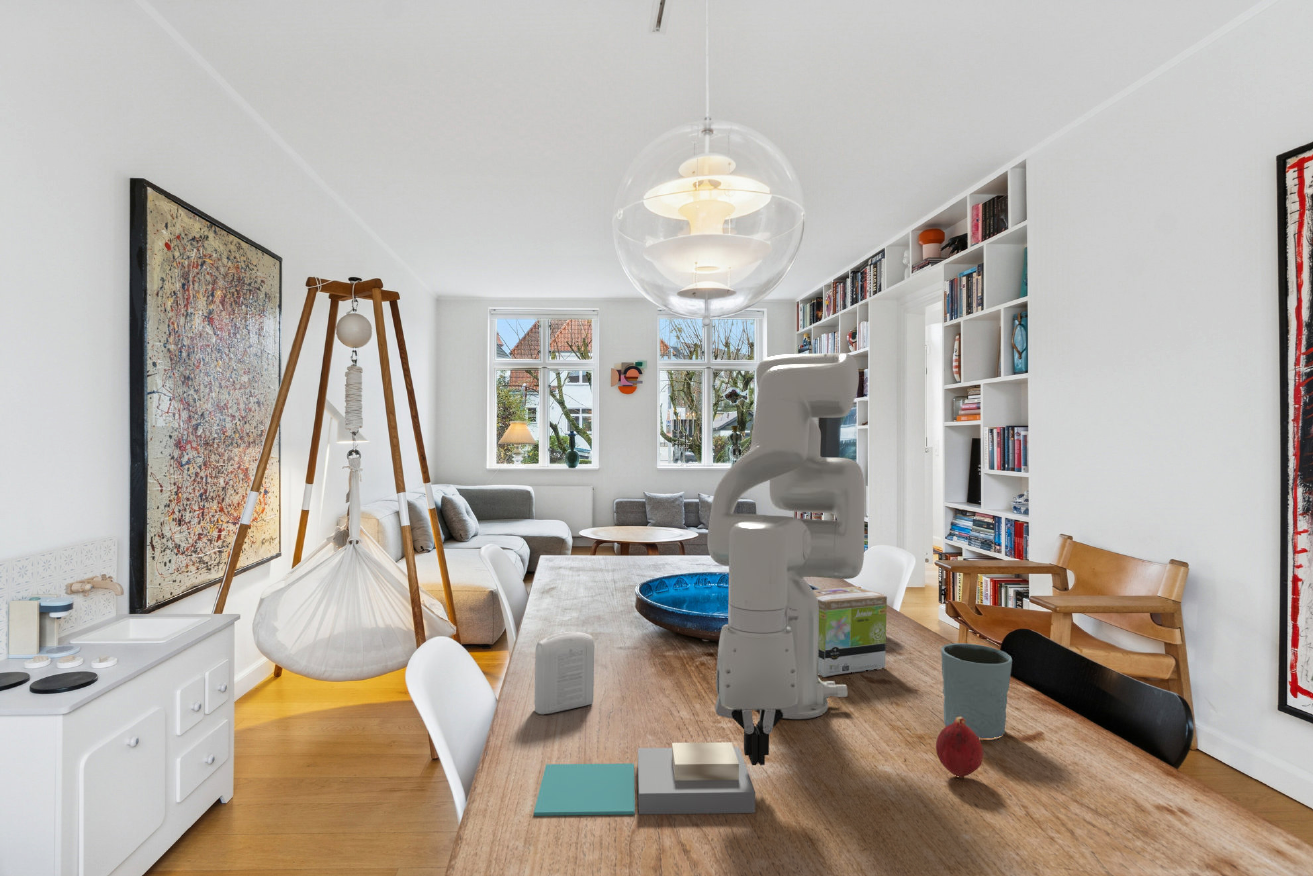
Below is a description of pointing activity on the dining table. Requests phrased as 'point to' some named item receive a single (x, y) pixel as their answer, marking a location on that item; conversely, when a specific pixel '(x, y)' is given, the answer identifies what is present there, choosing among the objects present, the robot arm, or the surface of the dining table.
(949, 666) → the blue ceramic planter
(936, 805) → the dining table surface
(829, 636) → the tea box
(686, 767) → the birch tile
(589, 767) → the teal mat
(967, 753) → the onion
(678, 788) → the grey flat slab
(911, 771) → the dining table surface
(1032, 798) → the dining table surface
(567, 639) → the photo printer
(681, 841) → the dining table surface
